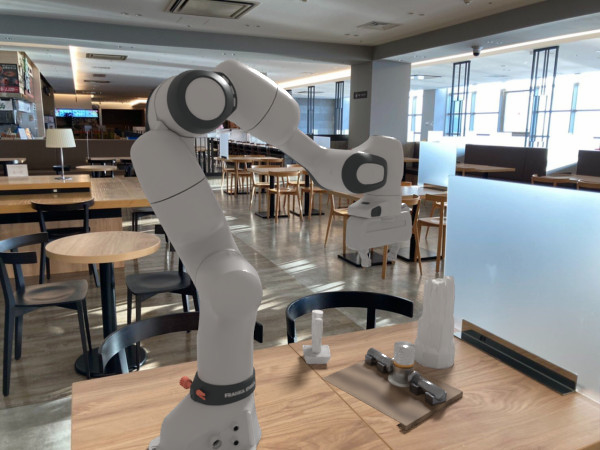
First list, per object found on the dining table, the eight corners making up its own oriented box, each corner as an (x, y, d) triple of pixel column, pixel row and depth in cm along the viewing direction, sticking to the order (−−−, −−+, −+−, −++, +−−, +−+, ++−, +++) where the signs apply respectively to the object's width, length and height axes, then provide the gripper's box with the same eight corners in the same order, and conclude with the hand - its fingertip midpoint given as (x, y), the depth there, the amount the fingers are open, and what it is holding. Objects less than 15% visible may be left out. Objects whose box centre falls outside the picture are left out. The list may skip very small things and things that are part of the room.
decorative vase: (406, 355, 137) (411, 270, 133) (435, 348, 142) (441, 266, 137) (431, 372, 127) (437, 281, 123) (462, 364, 132) (469, 276, 127)
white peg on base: (327, 355, 136) (329, 304, 133) (331, 371, 127) (332, 317, 124) (302, 355, 136) (303, 304, 133) (303, 371, 127) (304, 317, 124)
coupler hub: (404, 386, 117) (406, 351, 115) (388, 378, 121) (390, 344, 119) (417, 379, 120) (419, 346, 119) (400, 372, 124) (402, 339, 122)
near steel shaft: (405, 388, 116) (406, 373, 116) (419, 384, 119) (420, 368, 118) (433, 406, 109) (434, 390, 108) (447, 401, 111) (448, 385, 110)
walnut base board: (405, 430, 102) (406, 424, 102) (321, 382, 121) (321, 377, 121) (462, 395, 116) (463, 390, 116) (378, 357, 135) (379, 352, 135)
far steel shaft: (399, 372, 125) (400, 357, 124) (386, 376, 122) (387, 361, 122) (377, 358, 132) (377, 344, 131) (364, 361, 130) (364, 347, 129)
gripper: (399, 201, 122) (396, 254, 125) (342, 207, 109) (340, 267, 111) (419, 204, 117) (416, 259, 120) (363, 211, 104) (360, 273, 107)
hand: (379, 263), depth 116 cm, fingers open, 8 cm apart
